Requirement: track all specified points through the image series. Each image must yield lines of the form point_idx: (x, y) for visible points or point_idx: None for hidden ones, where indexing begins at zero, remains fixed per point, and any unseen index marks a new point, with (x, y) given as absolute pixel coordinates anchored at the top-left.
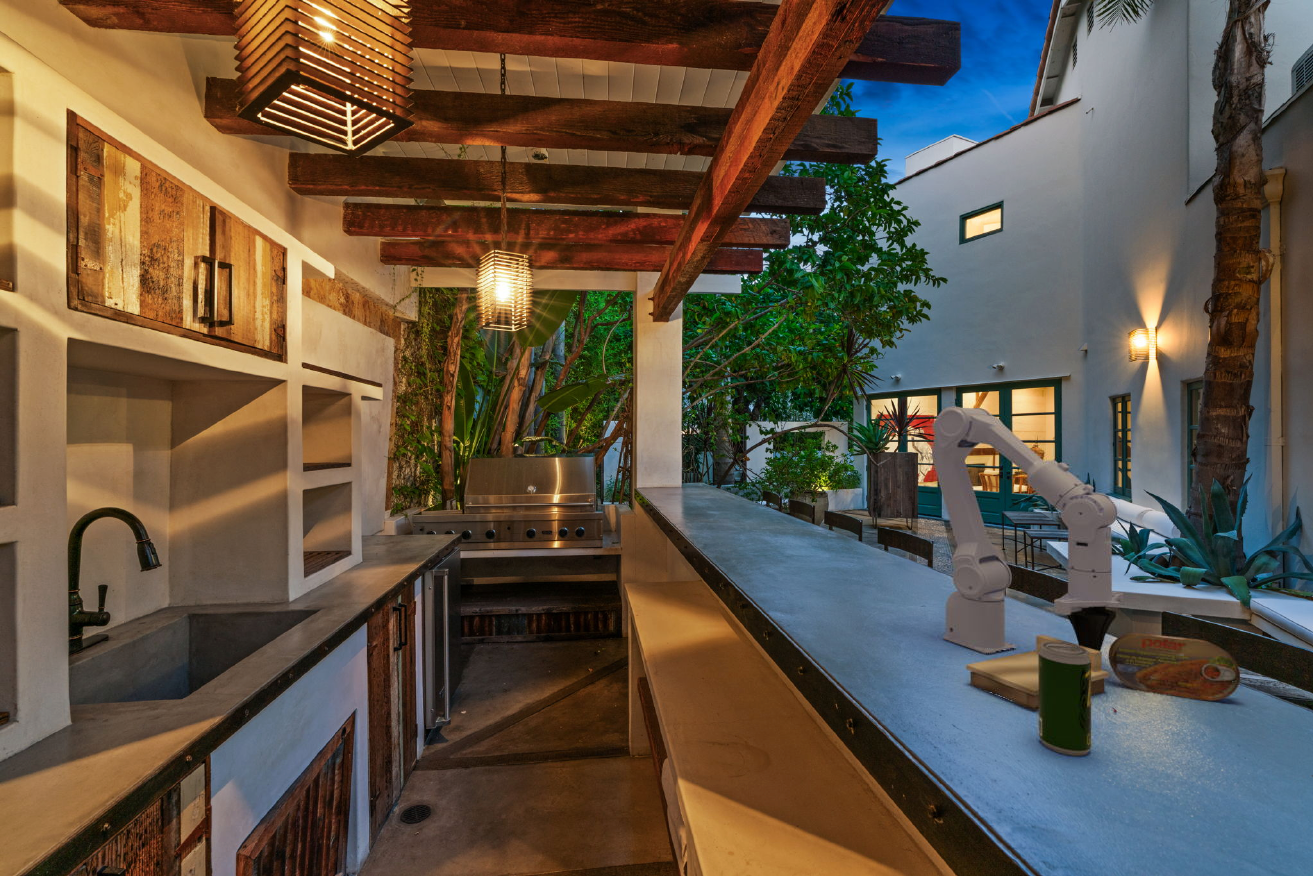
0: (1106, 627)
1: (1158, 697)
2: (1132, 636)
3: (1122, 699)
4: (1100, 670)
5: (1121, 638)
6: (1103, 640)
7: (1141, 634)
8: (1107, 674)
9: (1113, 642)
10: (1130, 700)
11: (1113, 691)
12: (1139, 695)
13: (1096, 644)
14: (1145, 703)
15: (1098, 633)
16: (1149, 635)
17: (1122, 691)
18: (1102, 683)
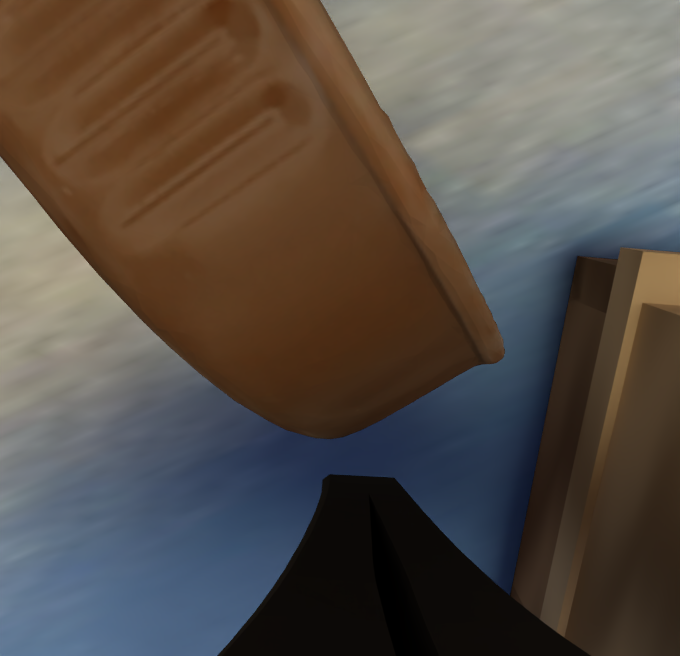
0: (310, 644)
1: (371, 24)
2: (381, 217)
3: (615, 138)
4: (659, 304)
5: (402, 354)
6: (308, 535)
7: (181, 136)
8: (655, 251)
9: (361, 426)
10: (591, 102)
11: (514, 234)
12: (445, 113)
13: (432, 524)
14: (567, 23)
15: (465, 604)
16: (82, 10)
17: (464, 205)
18: None
